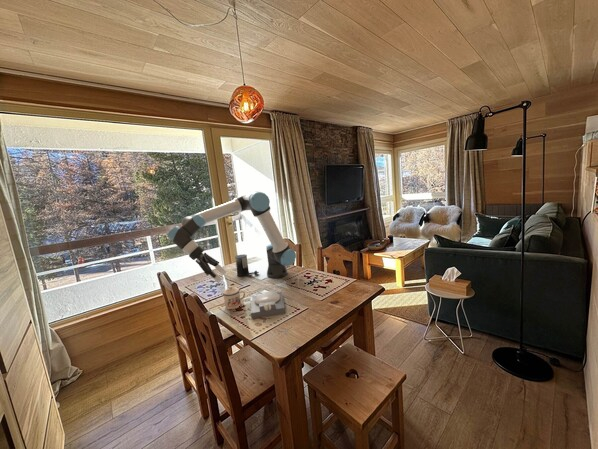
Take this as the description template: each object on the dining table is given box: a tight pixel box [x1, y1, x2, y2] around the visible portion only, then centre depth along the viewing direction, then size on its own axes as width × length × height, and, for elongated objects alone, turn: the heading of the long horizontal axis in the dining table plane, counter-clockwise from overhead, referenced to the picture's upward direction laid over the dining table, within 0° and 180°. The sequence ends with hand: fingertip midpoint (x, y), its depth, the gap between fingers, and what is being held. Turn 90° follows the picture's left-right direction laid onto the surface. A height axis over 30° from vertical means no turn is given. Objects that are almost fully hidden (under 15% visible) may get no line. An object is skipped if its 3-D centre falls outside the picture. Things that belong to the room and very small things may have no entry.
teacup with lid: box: [222, 285, 246, 310], centre depth 142 cm, size 12×9×12 cm
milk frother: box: [234, 254, 259, 278], centre depth 190 cm, size 14×16×15 cm
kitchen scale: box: [250, 291, 286, 319], centre depth 137 cm, size 20×17×6 cm
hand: (222, 276), depth 139 cm, fingers open, 13 cm apart
